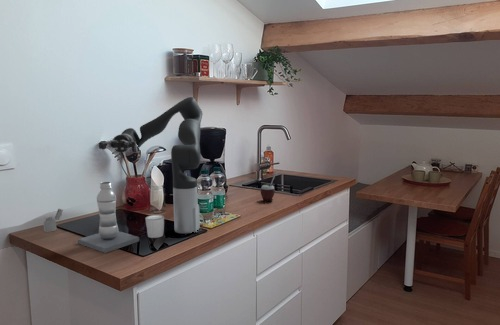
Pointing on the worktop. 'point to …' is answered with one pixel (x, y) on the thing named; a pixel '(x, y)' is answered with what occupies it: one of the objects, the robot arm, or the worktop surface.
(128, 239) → the board
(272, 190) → the mate gourd
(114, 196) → the plastic bottle
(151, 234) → the white cup
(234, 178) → the worktop surface
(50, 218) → the lighter
